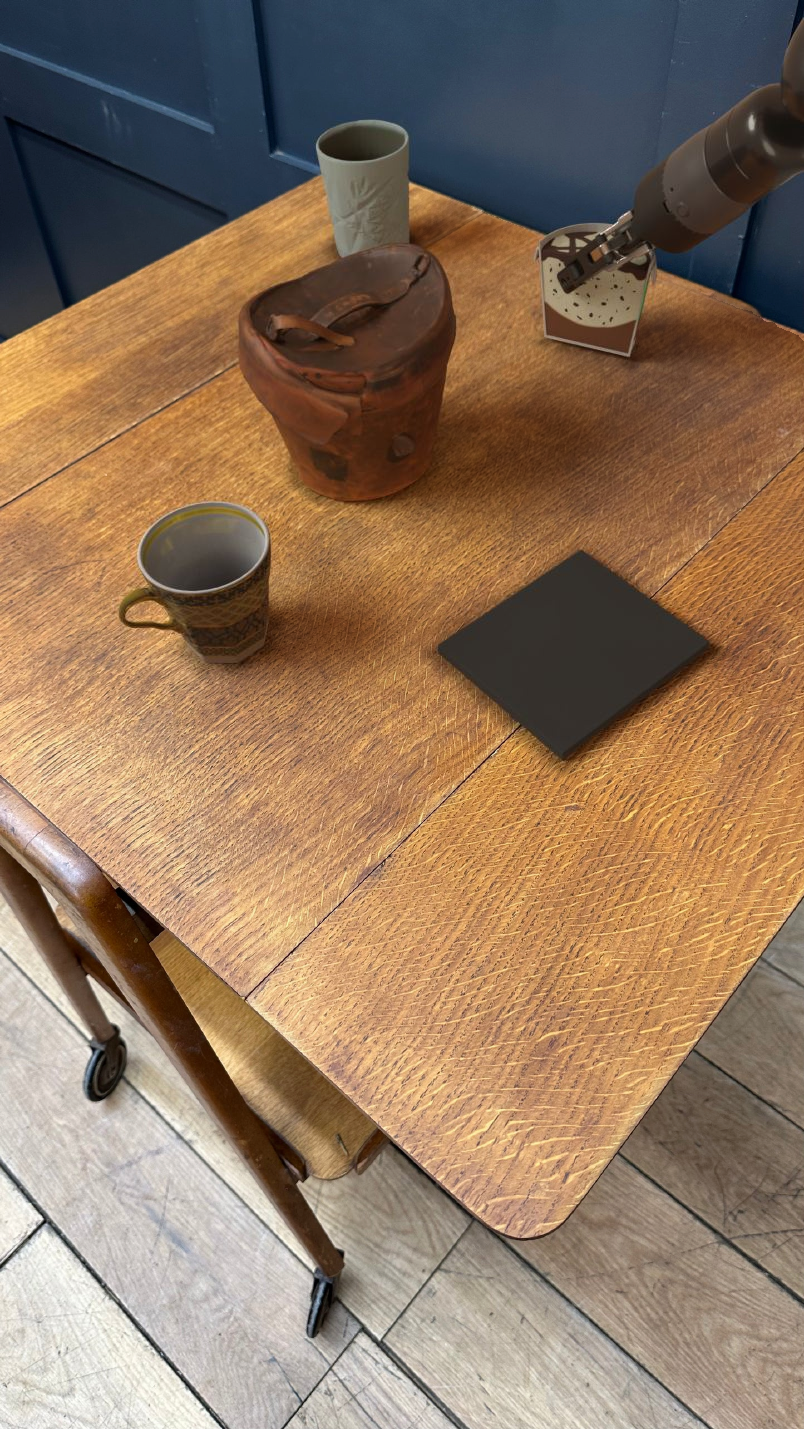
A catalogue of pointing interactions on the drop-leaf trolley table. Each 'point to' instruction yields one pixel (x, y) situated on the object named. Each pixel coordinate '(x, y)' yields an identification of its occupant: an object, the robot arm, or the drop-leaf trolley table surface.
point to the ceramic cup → (208, 578)
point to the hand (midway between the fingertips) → (591, 268)
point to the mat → (572, 652)
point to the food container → (592, 294)
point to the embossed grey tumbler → (366, 183)
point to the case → (354, 367)
